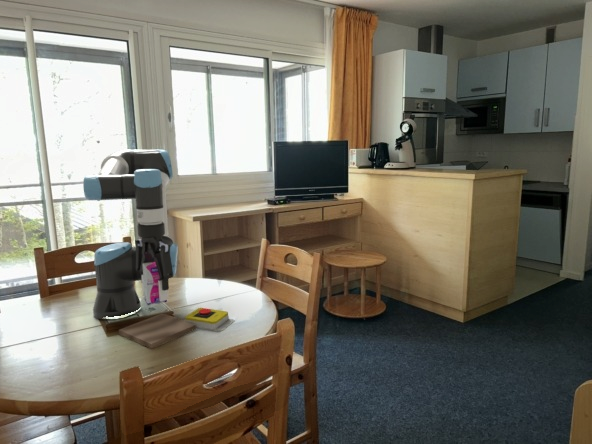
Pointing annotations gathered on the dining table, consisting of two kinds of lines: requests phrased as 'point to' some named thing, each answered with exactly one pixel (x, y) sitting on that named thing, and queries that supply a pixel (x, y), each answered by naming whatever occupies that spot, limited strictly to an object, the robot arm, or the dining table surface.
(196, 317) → the emergency button
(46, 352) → the dining table surface
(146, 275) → the supplement box
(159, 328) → the walnut board
